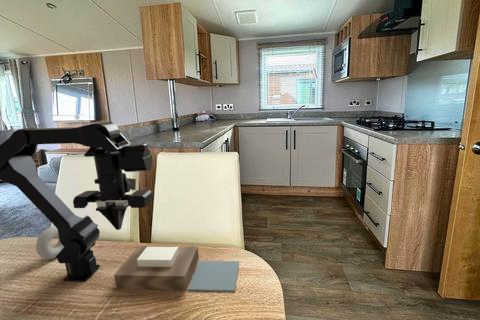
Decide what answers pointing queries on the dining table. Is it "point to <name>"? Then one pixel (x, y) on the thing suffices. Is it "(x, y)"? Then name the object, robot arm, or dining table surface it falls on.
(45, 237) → the donut
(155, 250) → the white rectangular block
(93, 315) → the dining table surface
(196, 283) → the mat
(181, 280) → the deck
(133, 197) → the robot arm
